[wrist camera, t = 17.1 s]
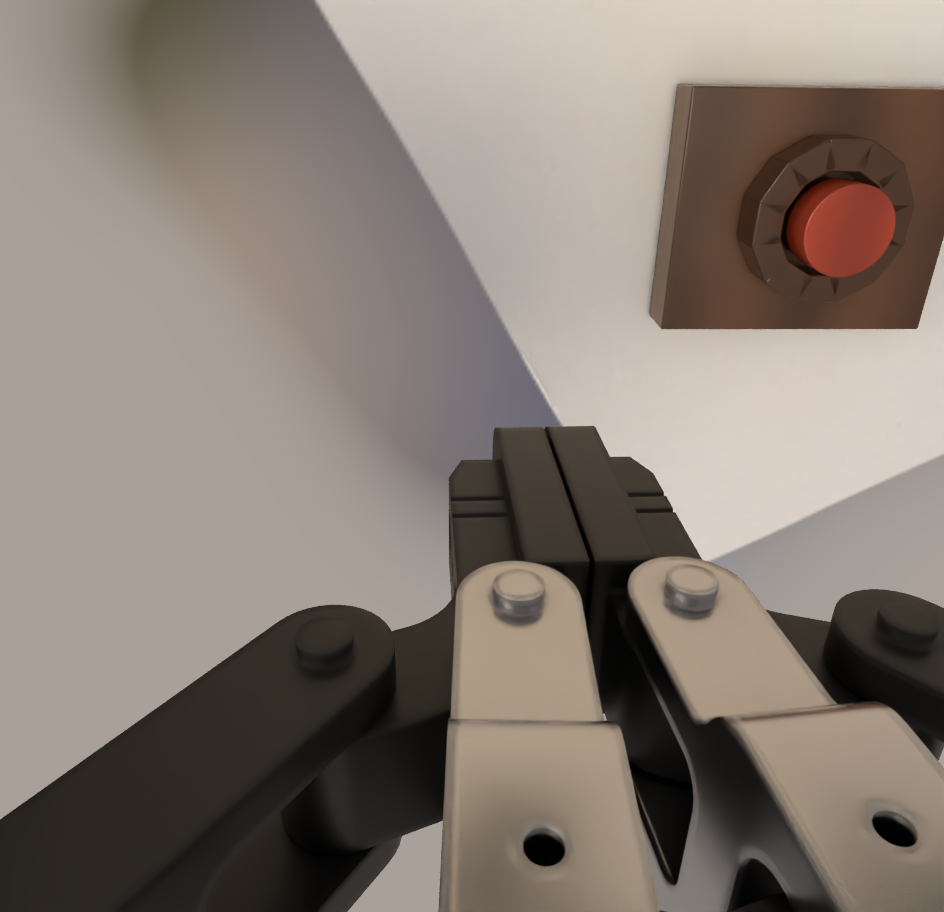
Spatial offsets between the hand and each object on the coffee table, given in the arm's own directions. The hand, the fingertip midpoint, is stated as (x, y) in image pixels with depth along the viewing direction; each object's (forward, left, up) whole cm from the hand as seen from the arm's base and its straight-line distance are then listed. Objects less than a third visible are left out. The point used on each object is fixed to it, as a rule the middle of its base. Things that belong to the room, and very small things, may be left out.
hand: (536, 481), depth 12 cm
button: (+15, 0, -22) cm, 26 cm away
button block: (+15, 0, -25) cm, 29 cm away
